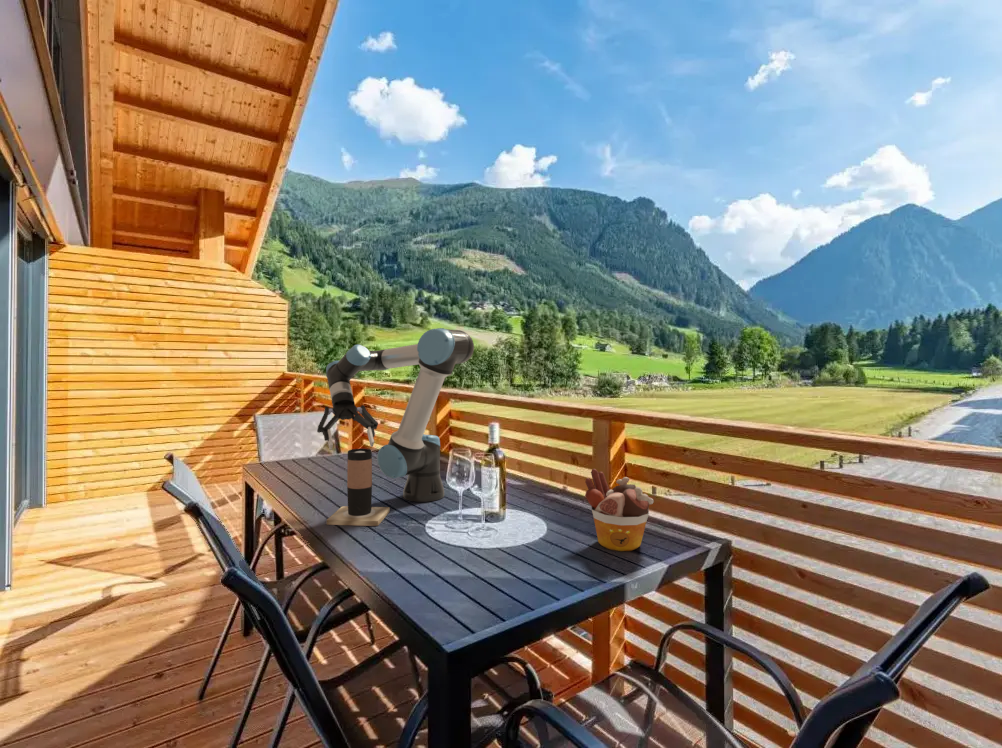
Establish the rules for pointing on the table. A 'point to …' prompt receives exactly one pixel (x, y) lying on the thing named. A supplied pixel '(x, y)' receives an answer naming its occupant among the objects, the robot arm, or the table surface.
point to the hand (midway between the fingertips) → (352, 446)
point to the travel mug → (359, 481)
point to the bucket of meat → (617, 512)
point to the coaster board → (358, 517)
